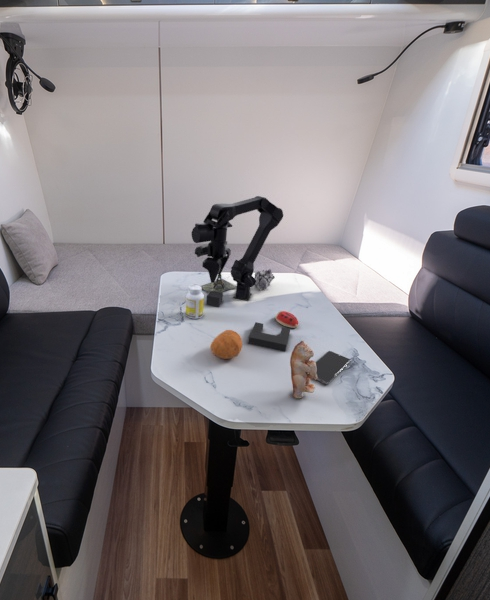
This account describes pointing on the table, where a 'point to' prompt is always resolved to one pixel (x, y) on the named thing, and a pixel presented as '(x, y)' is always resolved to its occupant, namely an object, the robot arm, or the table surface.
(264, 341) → the notched pad
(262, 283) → the mineral specimen
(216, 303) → the black block
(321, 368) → the smartphone
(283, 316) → the ladybug figurine
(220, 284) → the eiffel tower figurine
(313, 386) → the figurine
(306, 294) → the table surface
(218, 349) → the potato
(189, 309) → the pill bottle
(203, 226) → the robot arm
